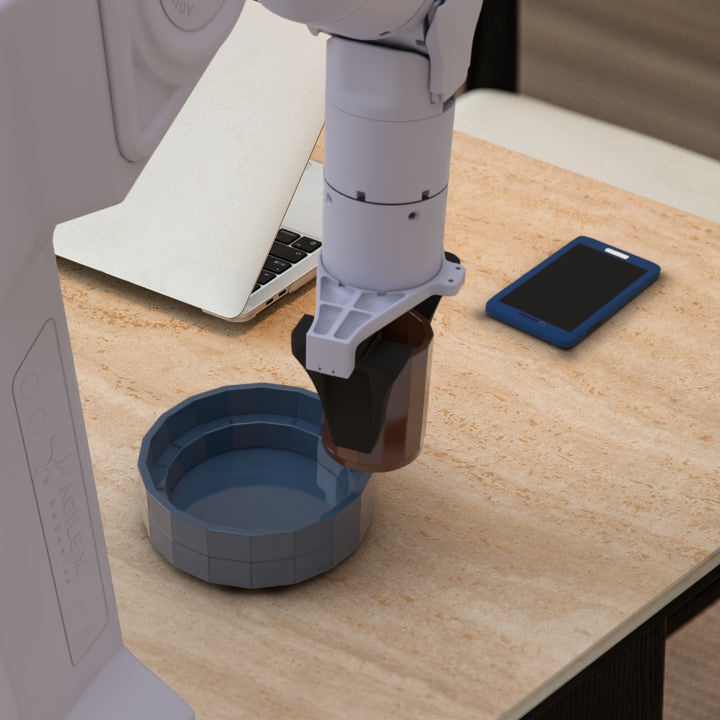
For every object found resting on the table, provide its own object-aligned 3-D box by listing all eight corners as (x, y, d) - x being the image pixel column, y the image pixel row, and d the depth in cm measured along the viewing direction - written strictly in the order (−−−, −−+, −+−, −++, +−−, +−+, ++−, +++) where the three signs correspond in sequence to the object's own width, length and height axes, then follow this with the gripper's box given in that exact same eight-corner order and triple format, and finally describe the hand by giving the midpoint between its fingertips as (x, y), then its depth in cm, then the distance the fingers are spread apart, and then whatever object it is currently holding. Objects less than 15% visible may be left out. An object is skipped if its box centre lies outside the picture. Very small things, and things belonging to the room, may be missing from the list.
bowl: (296, 631, 64) (297, 569, 62) (95, 538, 69) (88, 477, 67) (411, 488, 74) (416, 429, 71) (226, 416, 79) (225, 358, 76)
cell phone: (663, 274, 94) (665, 265, 94) (567, 352, 86) (568, 343, 85) (580, 240, 98) (581, 232, 98) (479, 312, 89) (480, 304, 89)
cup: (394, 486, 62) (402, 374, 58) (301, 449, 65) (302, 339, 61) (442, 429, 66) (452, 321, 62) (352, 396, 68) (357, 289, 64)
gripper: (423, 270, 50) (403, 520, 58) (510, 128, 61) (484, 353, 69) (260, 235, 52) (263, 482, 60) (374, 103, 63) (364, 326, 71)
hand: (373, 411), depth 64 cm, fingers closed on cup, 5 cm apart
